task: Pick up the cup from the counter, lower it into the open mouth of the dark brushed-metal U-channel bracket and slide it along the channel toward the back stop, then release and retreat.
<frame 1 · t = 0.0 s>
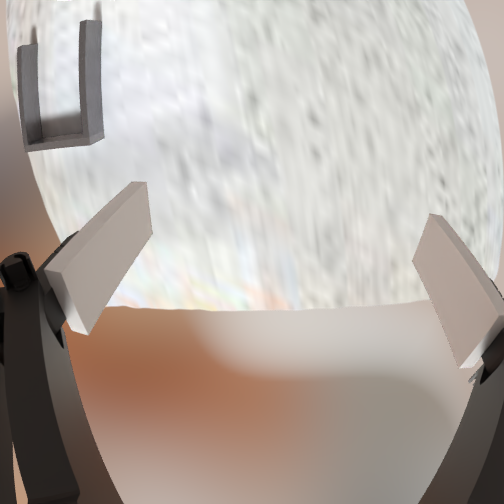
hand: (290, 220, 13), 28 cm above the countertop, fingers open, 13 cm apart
channel: (63, 83, 33), on the countertop
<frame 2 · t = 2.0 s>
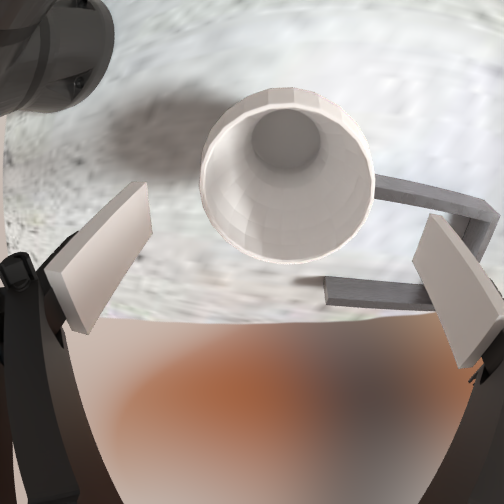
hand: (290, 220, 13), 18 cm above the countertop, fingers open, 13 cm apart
cup: (285, 133, 28), on the countertop
channel: (404, 241, 33), on the countertop
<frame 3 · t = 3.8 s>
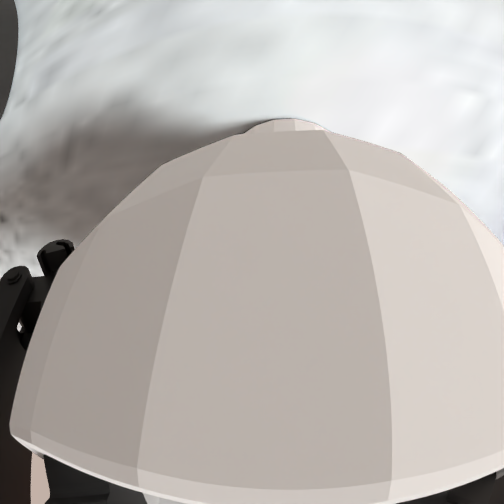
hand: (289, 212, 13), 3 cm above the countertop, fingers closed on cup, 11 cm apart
cup: (288, 186, 16), on the countertop, touching gripper
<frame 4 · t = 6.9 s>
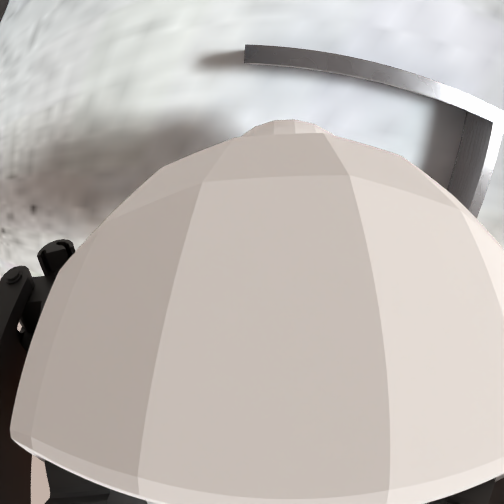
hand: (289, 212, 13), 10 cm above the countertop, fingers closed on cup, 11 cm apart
cup: (288, 187, 16), point 7 cm above the countertop, touching gripper
channel: (360, 159, 21), on the countertop
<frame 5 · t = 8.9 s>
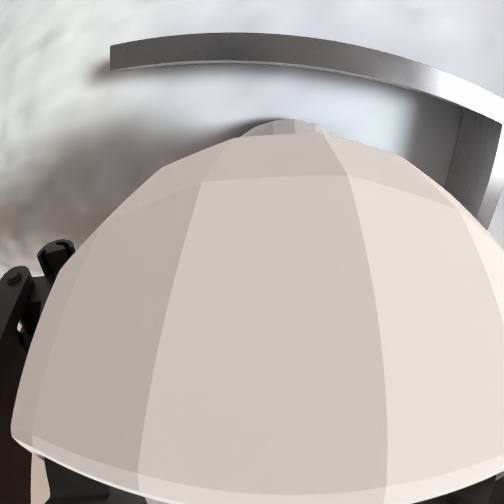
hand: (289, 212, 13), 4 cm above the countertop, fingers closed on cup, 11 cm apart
cup: (288, 187, 16), on the countertop, touching gripper
channel: (303, 183, 16), on the countertop
when the fingers open (3 cm above the countertop, at t = 10.4 s): cup stays where it is, on the countertop.
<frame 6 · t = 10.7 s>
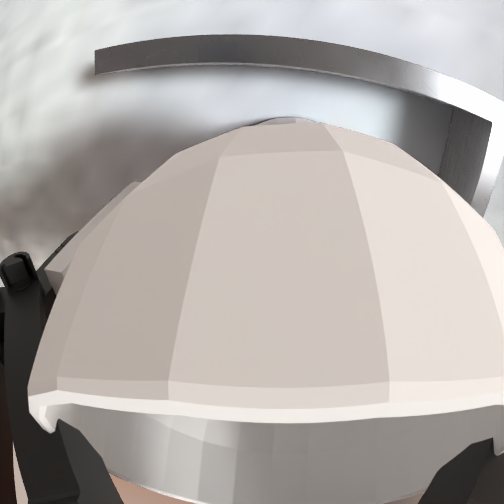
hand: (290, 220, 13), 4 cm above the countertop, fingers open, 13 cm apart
cup: (289, 182, 16), on the countertop
channel: (289, 184, 16), on the countertop
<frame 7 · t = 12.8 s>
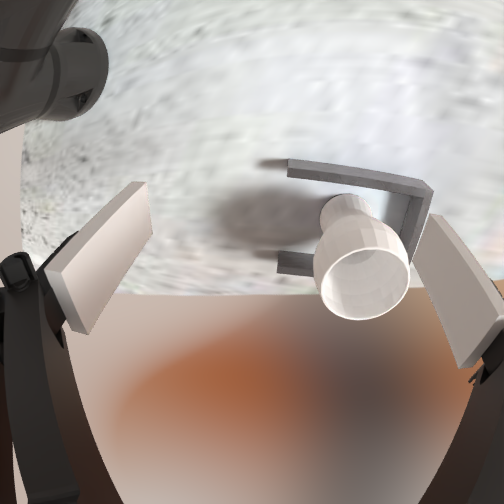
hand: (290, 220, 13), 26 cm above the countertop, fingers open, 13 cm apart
cup: (346, 218, 40), on the countertop
channel: (346, 219, 40), on the countertop
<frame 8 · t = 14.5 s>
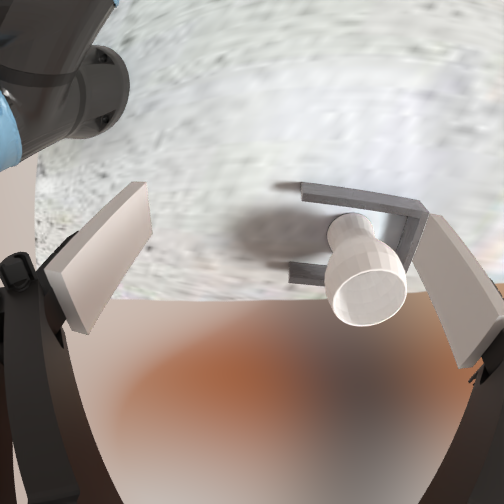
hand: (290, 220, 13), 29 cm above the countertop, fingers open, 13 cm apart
cup: (350, 233, 45), on the countertop
channel: (350, 234, 45), on the countertop
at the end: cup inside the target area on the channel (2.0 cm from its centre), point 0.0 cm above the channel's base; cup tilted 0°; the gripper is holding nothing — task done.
